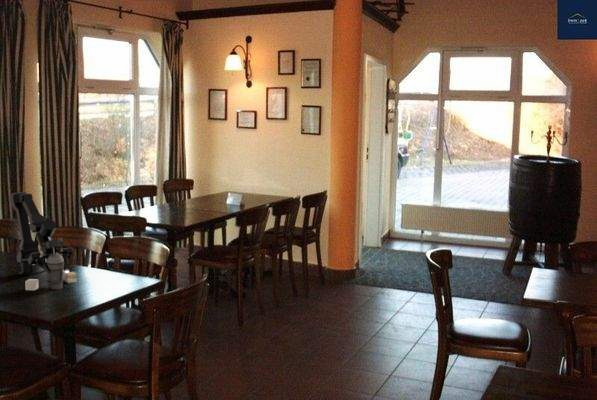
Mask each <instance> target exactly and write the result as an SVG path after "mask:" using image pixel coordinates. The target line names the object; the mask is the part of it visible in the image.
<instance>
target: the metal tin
mask: <svg viewBox="0 0 597 400" xmlns="http://www.w3.org/2000/svg"><path fill="white" fill-rule="evenodd" d="M68 272H70V269H68V268H66V270H65V271H64V270H63V282H65V275H64V273H68Z"/></svg>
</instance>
